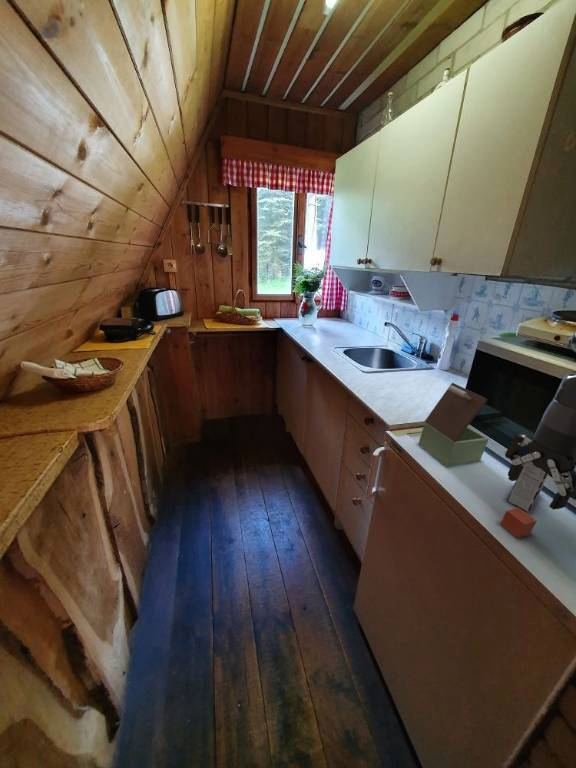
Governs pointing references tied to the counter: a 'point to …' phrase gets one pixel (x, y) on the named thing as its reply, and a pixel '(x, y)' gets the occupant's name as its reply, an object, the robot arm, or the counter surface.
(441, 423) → the lid
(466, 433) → the lidded olive box
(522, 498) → the candy bar box
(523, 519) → the block
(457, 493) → the counter surface
